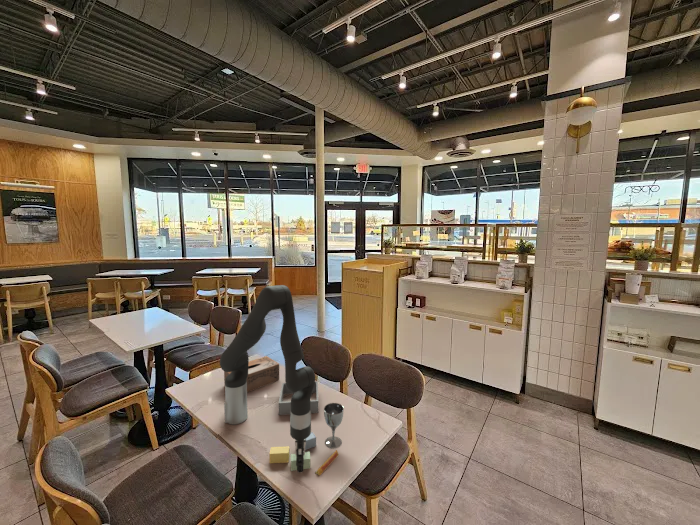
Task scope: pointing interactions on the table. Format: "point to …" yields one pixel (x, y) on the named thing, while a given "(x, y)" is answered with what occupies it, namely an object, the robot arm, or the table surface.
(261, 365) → the tissue box cover
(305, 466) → the sage brick
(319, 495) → the table surface
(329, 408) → the wine glass
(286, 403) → the frame
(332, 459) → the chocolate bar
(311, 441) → the slate brick
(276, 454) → the ochre brick
